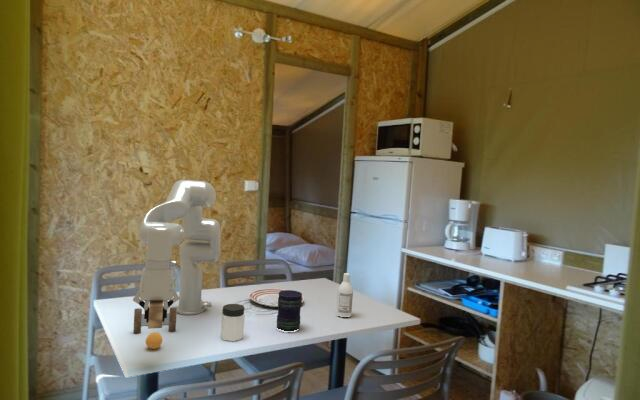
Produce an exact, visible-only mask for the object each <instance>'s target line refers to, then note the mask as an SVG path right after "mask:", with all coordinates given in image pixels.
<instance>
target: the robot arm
mask: <svg viewBox="0 0 640 400" xmlns="http://www.w3.org/2000/svg"><path fill="white" fill-rule="evenodd" d="M216 200H217V193H216V190H215V188H214V186H213V185H212V184H211V183H209V182H207V181H204V180H191V179H190V180H189V179H180V180H177V181H175V182H174V183H173V185H172V187H171V189H170V192H169V194H168V197H167V198H166V201H165V202H163V203H161V204H159V205H157V206H155V207H152V209H150V210H148V211H147V212H146V214H145V215H144V218H143V219H142V222H141V224H140V225H139V226H140V227H139V229H138V238H139V241H140V242H141V243H143V244H146V252H145V267H143V268H142V272H141V275H140V276H141V277H140V284H139V290H138V291H137V292H136V294H135V295H134V297H132V301H133V302H134V303H136V304H138V305H139V306H140V307H141V309H142V310H144V313H143V314H144V319H147V320H146V323H148V322H149V304H150V301H159V300H163V316H162V321H163V322H164V318H167V313H168V309H170V308H171V306H172V305H173V304H174V303H176V302H177V301H178V305H176V306H175V307H176V308H177V313H176V314H179V315H186V316H189V315H191V316H192V315H198V314H202V313H203V312H204V311H205V307H206V308H207V307H208V308H209V307H212V306H213V305H212V302H211V301H210V302H209V301H208V300H207V301H203V299H202V292H203V291H202V289H203V274H204V273H203V269H202V267H201V266H200V264H199V263H206V264H214V263H217V262H219V259H220V256H221V225H220V222H219V221H218V220H217V219H214V218H205V217H203V214H204V213H203V212H204V211H203V207H205V208H211V207H213V206H214V205H215V203H216ZM180 219H181V223H175V222H172V221H175V220H180ZM184 239H187V240H184ZM183 240H184V241H183ZM178 245H179V249H178V252H179V253H178V254H179V263H180V272H179V289H178V290H179V292H178V293H179V294H178V293H177V292H176V290H175V284H174V283H175V281H174V280H175V278H174V277H175V275H174V268H173V267H172V266H176V260H172V249H173V248H172V247H174V246H178Z"/></svg>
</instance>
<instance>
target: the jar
mask: <svg viewBox="0 0 640 400" xmlns="http://www.w3.org/2000/svg"><path fill="white" fill-rule="evenodd" d="M220 327H221V328H220V337H221V340H222V341H225V340H230V341H229V342H232V341H234V342H237V341H240V340H239V339H241V340H243V339H244V329H245V306H244V305H242V304H239V303H228V304H225V305H223V306H222V312H221V326H220ZM242 338H243V339H242ZM236 340H237V341H236Z"/></svg>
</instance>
